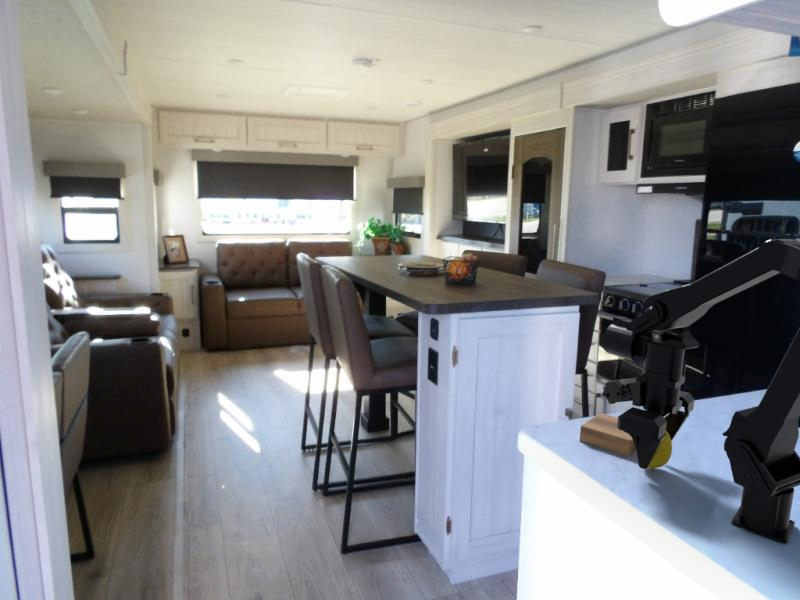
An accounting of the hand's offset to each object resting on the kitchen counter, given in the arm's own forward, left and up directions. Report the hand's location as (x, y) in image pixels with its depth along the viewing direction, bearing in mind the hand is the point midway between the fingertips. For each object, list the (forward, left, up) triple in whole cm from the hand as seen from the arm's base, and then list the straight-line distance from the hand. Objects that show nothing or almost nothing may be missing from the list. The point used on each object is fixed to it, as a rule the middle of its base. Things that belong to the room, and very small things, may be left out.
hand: (652, 459), depth 92 cm
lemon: (0, 0, -2) cm, 2 cm away
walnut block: (+6, +9, -2) cm, 11 cm away
